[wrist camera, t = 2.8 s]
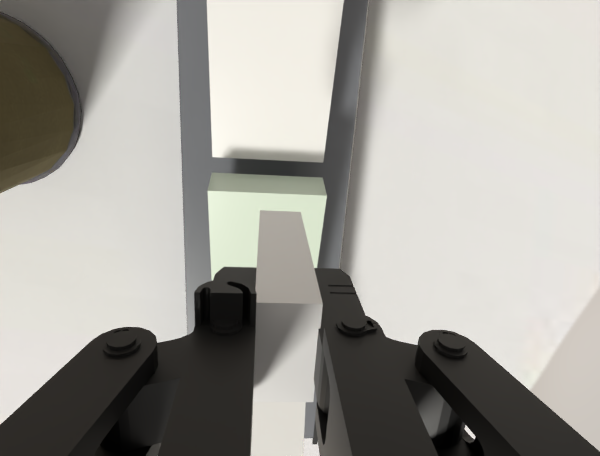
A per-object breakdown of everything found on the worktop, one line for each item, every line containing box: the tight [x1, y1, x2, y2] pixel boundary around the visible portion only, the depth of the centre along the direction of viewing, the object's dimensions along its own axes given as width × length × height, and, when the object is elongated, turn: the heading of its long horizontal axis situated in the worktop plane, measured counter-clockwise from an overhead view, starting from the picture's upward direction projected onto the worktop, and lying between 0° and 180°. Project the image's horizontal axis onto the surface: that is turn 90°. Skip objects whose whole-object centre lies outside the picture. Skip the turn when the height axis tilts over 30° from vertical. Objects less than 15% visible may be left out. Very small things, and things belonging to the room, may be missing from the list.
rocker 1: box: [207, 0, 344, 163], centre depth 21 cm, size 6×9×2 cm, turn 176°
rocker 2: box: [251, 402, 306, 456], centre depth 27 cm, size 6×9×2 cm, turn 176°
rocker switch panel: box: [177, 0, 369, 438], centre depth 27 cm, size 10×34×5 cm, turn 176°
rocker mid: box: [208, 173, 327, 281], centre depth 24 cm, size 6×9×2 cm, turn 176°
